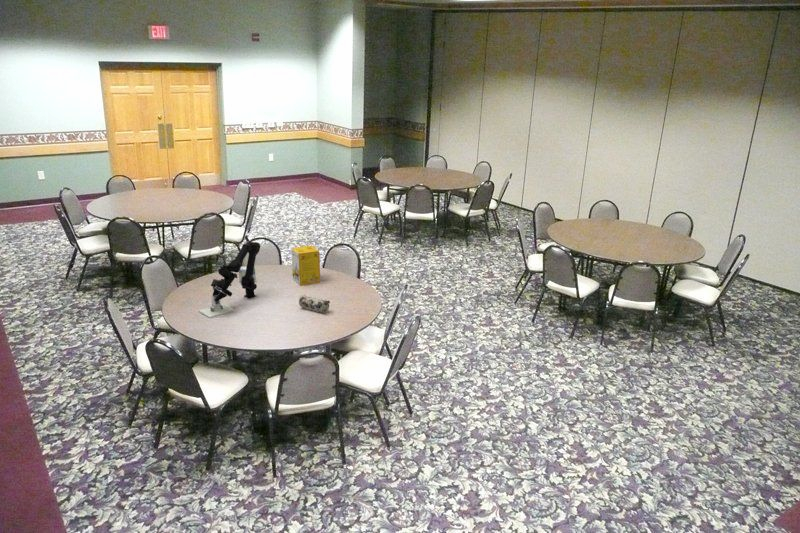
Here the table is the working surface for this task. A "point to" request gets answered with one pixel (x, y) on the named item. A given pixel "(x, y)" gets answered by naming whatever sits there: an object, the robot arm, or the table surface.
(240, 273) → the light bulb box
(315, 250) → the packaging box
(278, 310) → the table surface
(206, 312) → the pin tray
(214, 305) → the block
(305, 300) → the pencil case
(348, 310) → the table surface
